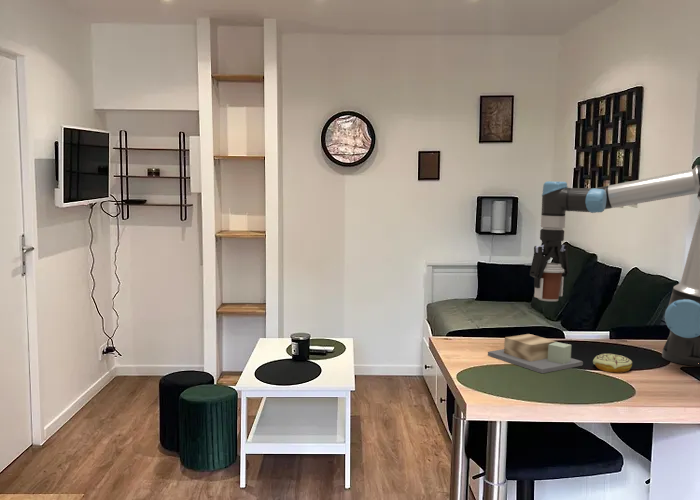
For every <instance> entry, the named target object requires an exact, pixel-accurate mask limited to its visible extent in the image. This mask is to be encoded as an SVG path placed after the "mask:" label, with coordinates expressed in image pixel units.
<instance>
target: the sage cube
mask: <svg viewBox="0 0 700 500" xmlns="http://www.w3.org/2000/svg"><path fill="white" fill-rule="evenodd" d="M571 358H572V344H570V343H569V344H568V343H563V342H558V341H556V342H554V343H551V344H549V345H548V361H551V362H556V363H561V364H565V363H567V362H569V361H571Z"/></svg>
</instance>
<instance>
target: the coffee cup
mask: <svg viewBox="0 0 700 500" xmlns="http://www.w3.org/2000/svg"><path fill="white" fill-rule="evenodd" d="M563 272H564V269H563V268H562V267H561V264H559V263H554V262H547V265H546V267H545V270H544V272H543V275H542V277H541V278H543V293H542V298H537V299H538V300H539V301H542V302H543V301H544V302H558V301H559V298H560V296H559V292H560V285H561V278H562V273H563ZM538 274H539V273H538Z"/></svg>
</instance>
